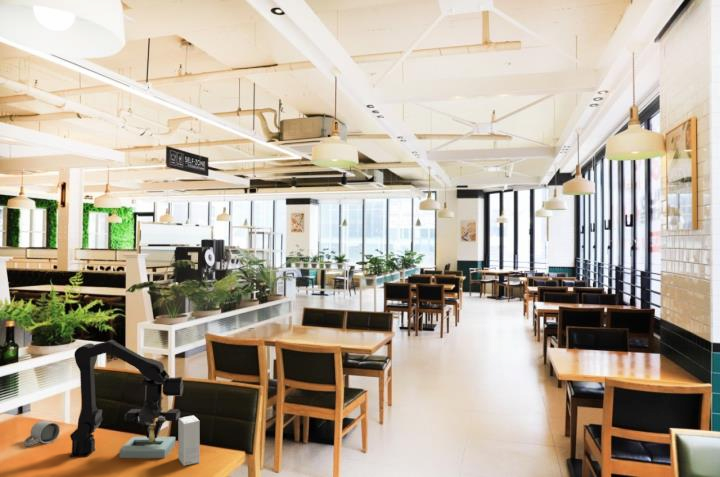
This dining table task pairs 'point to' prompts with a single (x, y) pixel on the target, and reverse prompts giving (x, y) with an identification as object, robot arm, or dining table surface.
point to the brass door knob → (152, 434)
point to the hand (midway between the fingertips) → (152, 438)
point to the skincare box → (188, 440)
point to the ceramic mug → (43, 433)
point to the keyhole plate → (147, 448)
